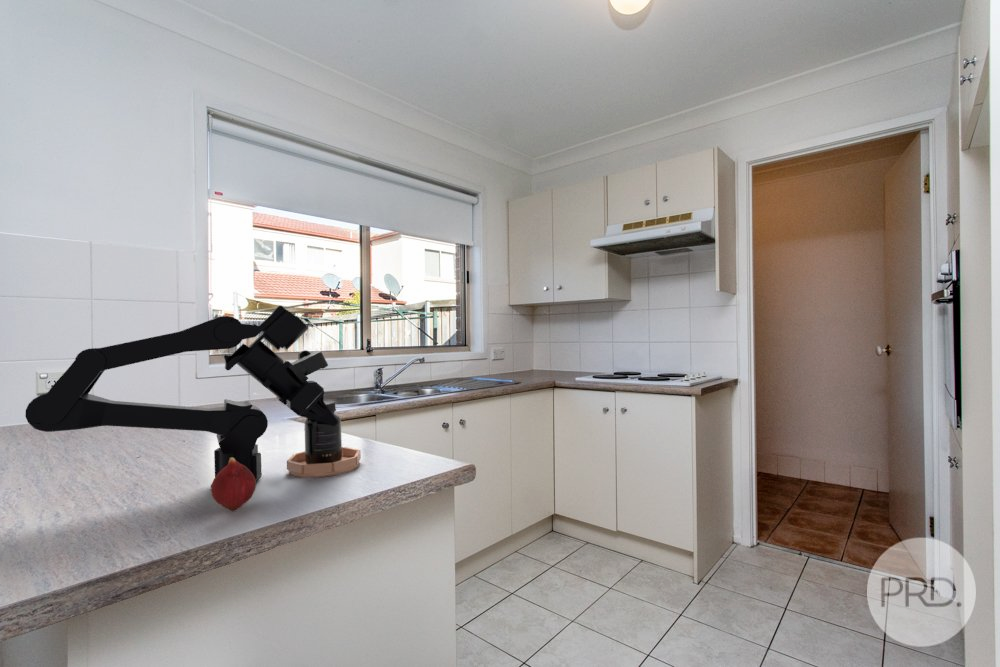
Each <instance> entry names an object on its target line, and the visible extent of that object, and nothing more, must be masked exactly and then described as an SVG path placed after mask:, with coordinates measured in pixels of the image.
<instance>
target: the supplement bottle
mask: <svg viewBox="0 0 1000 667" xmlns="http://www.w3.org/2000/svg"><path fill="white" fill-rule="evenodd" d="M324 403H325V404H326V406H327V407H328V408H329V410H330V411H331V412H332V414H333V415H334V416H335V418H336V419H337V420H338V423H337V424H336V426H332V425H329V424H325V423H322V422H319V421H315V420H312V419H308V418H305V420H304V451H305V461H306V464H319V463H333V462H336V461H340V460H342V447H343V446H342V444H343V443H342V441H343V440H342V420H341V416H339V415H337V414H336V413H335V412H336V411H337V408H336V402H335V401H334V400H332V401H331V400H324Z"/></svg>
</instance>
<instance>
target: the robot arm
mask: <svg viewBox="0 0 1000 667" xmlns="http://www.w3.org/2000/svg"><path fill="white" fill-rule="evenodd" d="M285 308H286V307H284V306H282V305H278V306H277V307H275V309H273V311H272V312H271V314H269V315H268V317H267V318H266V319H264V320H263V321H262V322H261V323H260V324H259V325H257V324H256V323H252V324H245V323H242V322H240V320H239V319H237V318H235V317H233V316H229V315H221V316H218V317H215V318H211V319H210V320H207V321H204V322H201V323H199V324H197V325H193V326H191V327H188V328H185V329H183V330H180V331H176V332H172V333H166V334H163V335H162V334H161V335H158V336H157V335H156V336H152V337H147V338H142V339H138V340H131V341H128V342H123V343H118V344H114V345H107V346H104V347H103V346H102V347H93V348H86V349H83V350H82V351H80V352H79V353H78V354H77V355H76V357H75V359H74V361H73V362H72V363H71V364H70V366H69V367H68V368H67V369H66V370H65V372H64V373H62V374H61V376H60V377H59V378H58V379H57V381H55V383H54V384H53V385H52V386H51V388H50V389H49V390H48V392H46V393H43V394H40V395H38V396H37V397H35V398H33V399H32V400H31V401H30V402H29V403H28V405H27V406H26V407H25V415H24V416H25V419H26V421H27V423H28V424H29V425H30V426H31V427H32V428H33V429H35V430H37V431H39V432H40V431H41V432H44V433H48V432H49V433H51V432H61V431H65V432H66V431H77V430H84V429H90V428H98V427H107V426H108V427H122V428H123V427H125V428H139V429H141V428H142V429H160V430H161V429H162V430H175V431H176V430H177V431H178V430H179V431H180V430H181V431H193V432H194V431H197V432H208V433H211V434H214V435H216V438H217V443H218V448H216V449H214V456H213V457H214V478H215V477H216V475H217V474H218V473H219V472H220V471H221V470H222V469H223V468H224V467H225V466H227V465H228V462H229V460H230V458H235V460H236V461H237V462H239V463H240V464H242V465H244V466H246V467H247V468H248V469H249V470H250V471H251V472H252V474H253V475H254V477H255V480H256V481H257V480H258V479H259V478H260V477H261V476H262V454H261V452H259V447H258V446H259V444H258V443H257V441H258V439H259V438H260V437H262V436H263V435H264V434H265V432H266V431H267V428H268V425H269V423H268V421H269V420H268V418H267V416H266V414H265V413H264V412H263V411H262V410H261V409H260V408H259V407H258V406H256V405H254V404H252V403H251V402H250V401H249V400H245V401H235V400H231V399H226V398H225V399H224V400H223V406H218V407H217V406H216V407H210V408H209V407H198V406H197V407H195V406H182V405H171V404H160V403H146V402H135V401H134V402H133V401H132V402H131V401H123V400H121V401H120V400H111V399H108V398H104V397H101V396H97V395H94V394H92V393H91V391H92V389H93V388H94V386H95V385H96V383H97V382H98V381H99V380H100V377H101V376H102V375H103V373H104V372H105V371H107V370H111V369H116V368H120V367H124V366H129V365H132V364H133V365H134V364H138V363H141V362H146V361H150V360H155V359H160V358H164V357H168V356H173V355H177V354H182V353H186V352H198V351H199V352H203V351H204V352H205V351H214V350H215V351H216V350H228V349H233V348H235V347H237V346H238V345H239V344H241V343H242V341H243V340H247V339H252V338H256V337H257V336H258V335H259V334H260V335H259V336H258V337H257V338H256V339H255V340H254V341H252V342H251V343H250V344H249V345H246V344H245V343H242V344H241V345H240V346H239V347H238V348H237V349H235V351H234V352H232V354H224V355H222V356H223V359H224V369H225V370H226V371H231V370H232V369H233V368H234V366H236V365H237V366H239V368H241V369H242V370H243V371H245V372H246V374H248V375H249V376H251V377H252V378H253V379H255V381H256V382H258V383H259V384H261V385H262V386H263V387H265V388H266V389H267V390H268V391H269V392H271V394H273V395H274V396H276V399H277V400H278V401H280V402H281V403H282V404H283V405H284V406H286V407H287V408H289V410H291V411H292V412H293V413H295V414H296V415H297V416H299V417H301V418H304V419H307V418H308V419H312V420H315V421H319V422H322V423H325V424H329V425H332V426H336V424H337V423H338V420H337V419H336V418H335V416H334V415H333V414H332V412H331V411H330V410H329V408H328V407H327V406H326V404H325V403H324V401H325V400H324V395H325V390H324V389H325V388H324V387H323V386H321V385H320V384H319V382H317V381H314V380H308V379H309V377H308V376H309V375H311V374H312V373H315V372H317V371H319V370H320V369H321V370H322V369H324V368H325V369H326V368H327V367H328V366H329V364H328V361H327V360H326V357H325V356H324V354H323V352H322V351H321V350H315V351H312V352H310V351H308V350H305V349H304V350H302V351H300V352H298V353H297V355H298V356H297V357H298V358H297V359H296V360H295V361H292V362H290V361H289V360H285V359H283V358H281V357H280V356H279V355H278V354H276V352H274V351H273V349H274V350H276V351H279V350H281V349H284V350H285V351H288V349H289V348H290V347H291V346H293V345H294V344H295V342H297V341H298V339H300V337H302V336H303V335H304V334H305V333H306V332H307V331H308V330H309V327H308V325H307V324H306V323H305V322H304V321H303V320H302V319H301V318H300V317H299V316H297V315H294V314H293V313H292V312H291V311H289V310H287V309H285ZM263 340H264V341H265V342H266V343H268V345H270V346H271V347H272V348H273V349H271V348H270V347H269V346H267V345H266V344H265V343H264V342H263ZM256 443H257V444H256ZM211 487H212V484H210V488H211Z"/></svg>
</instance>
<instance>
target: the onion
mask: <svg viewBox="0 0 1000 667" xmlns="http://www.w3.org/2000/svg"><path fill="white" fill-rule="evenodd" d="M256 486H257V480H255V477H254V475H253V474H252V472H251V471H250V470H249V469H248V468H247V467H246V466H244V465H242V464H240V463H239V462H237V461H236V460H235V458H230V460H229V462H228V465H227V466H225V467H224V468H223V469H222V470H221V471H220V472H219V473H218V474H217V475H216V477H215V476H214V478H213V481H212V487H211V486H210V488H211V489H210V492H211V495H212V498H213V500H214V501H215V502H216V503H217V504H219V505H220V506H222V507H224V508H225V509H227V510H228V511H230V512H235V511H237V510H239V509H240V508H241V507H242V506H243V505H245V504H246V503H247V502H249V500H250V499H252V496H253V494H254V493H255V490H256Z"/></svg>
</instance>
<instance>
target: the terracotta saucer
mask: <svg viewBox="0 0 1000 667" xmlns="http://www.w3.org/2000/svg"><path fill="white" fill-rule="evenodd" d="M361 454H362V453H361V449H357V448H353V447H348V446H345V447H343V446H342V460H340V461H336V462H333V463H319V464H306V461H305V450H304V451H301V452H297V453H295V454H292V455H291V456H290V457H289V458H288V459H286V470H287V471H289V472H288V473H289V474H290V475H291V476H294V477H298V478H305V479H307V478H309V479H311V478H313V479H314V478H315V479H316V478H325V477H333V476H339V475H341V474H342V475H343V474H345V473H349V472H352V471H353V470H356V469H358V467H359V466H360V461H361V456H362V455H361Z"/></svg>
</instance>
